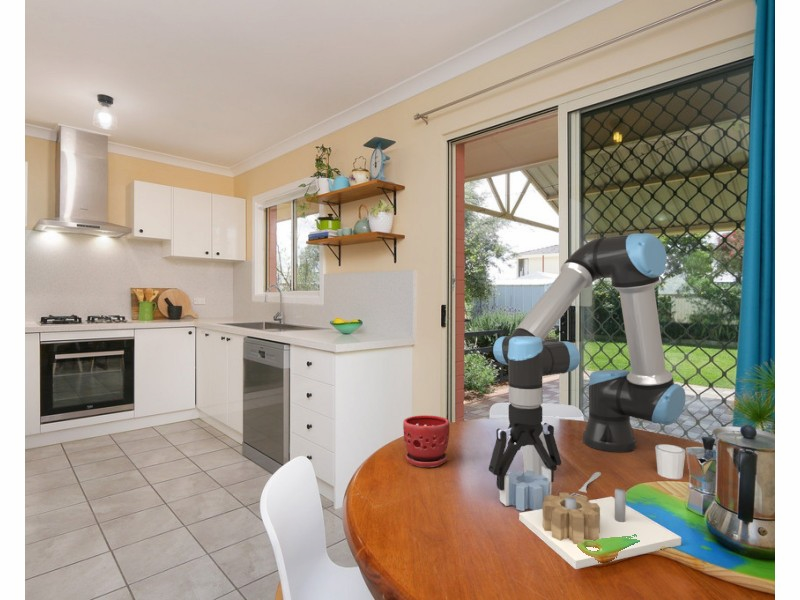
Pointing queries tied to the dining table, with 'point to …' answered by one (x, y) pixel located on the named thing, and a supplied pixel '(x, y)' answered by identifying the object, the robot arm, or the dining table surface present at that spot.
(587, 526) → the gear
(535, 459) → the cup
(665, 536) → the gear board
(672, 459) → the short white tumbler
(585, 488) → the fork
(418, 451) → the plant pot
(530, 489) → the gear
